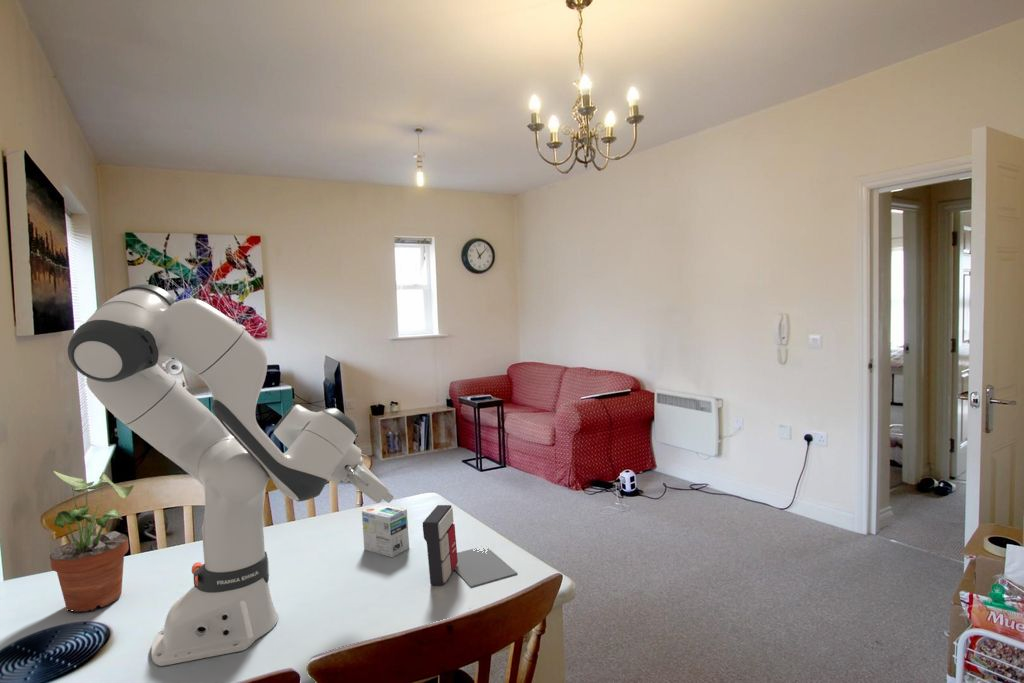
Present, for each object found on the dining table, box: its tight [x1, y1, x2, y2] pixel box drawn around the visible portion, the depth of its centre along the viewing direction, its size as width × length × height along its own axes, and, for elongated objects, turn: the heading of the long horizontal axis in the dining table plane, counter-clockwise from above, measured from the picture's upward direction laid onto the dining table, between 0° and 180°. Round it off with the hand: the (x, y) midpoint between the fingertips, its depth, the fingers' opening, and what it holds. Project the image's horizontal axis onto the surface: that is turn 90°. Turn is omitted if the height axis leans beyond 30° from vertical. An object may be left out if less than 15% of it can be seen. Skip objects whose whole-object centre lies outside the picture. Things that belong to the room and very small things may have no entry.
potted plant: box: [49, 468, 134, 612], centre depth 128 cm, size 16×15×35 cm
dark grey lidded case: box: [422, 504, 458, 586], centre depth 135 cm, size 11×4×15 cm, turn 168°
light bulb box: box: [361, 503, 410, 558], centre depth 151 cm, size 11×7×11 cm, turn 58°
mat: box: [453, 547, 518, 588], centre depth 140 cm, size 12×18×1 cm, turn 28°
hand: (388, 497), depth 128 cm, fingers open, 2 cm apart
